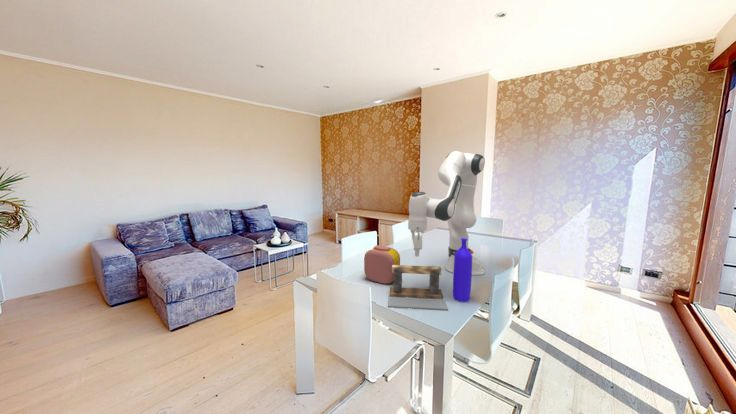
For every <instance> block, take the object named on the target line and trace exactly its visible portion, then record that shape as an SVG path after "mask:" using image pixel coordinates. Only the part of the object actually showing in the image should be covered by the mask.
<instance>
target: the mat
mask: <svg viewBox="0 0 736 414" xmlns="http://www.w3.org/2000/svg"><path fill="white" fill-rule="evenodd" d="M389 307H394V308H393V309H408V308H410V309H411V308H412V309H411V310H413V309H414V310H431V311H449V308H448V305H447V301H446V300H445V299H427V298H406V297H388V298H387V308H389Z"/></svg>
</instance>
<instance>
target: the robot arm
mask: <svg viewBox="0 0 736 414" xmlns="http://www.w3.org/2000/svg"><path fill="white" fill-rule="evenodd" d="M485 163H486V159H485V157H484V156H483V155H482V154H478V153H476V154H475V153H472V152H470V153H469V152H462V151H459V150H454V151H452V152H450V153H448V155H447V156H446V157H445V159H444V160H443V162H442V163H441V166H440V167H439V169H438V172H437V177H438V180H440V182H441V183H442V184H444V185H445V186H448V190H447V192H446V196H445V197H444V198H441V199H440V198H433V197H430V196H428V195H427V192H425V191H416V192H413V193H411V194H410V197H409V201H408V214H409V215H408V223H407V229H408V230H410V233H411V240H412V245H413V250H414V257H419V256H420V251H421V250H422V249H423V234H424V232H425V231H426V230H427V225H428V224H427V222H428V218H431V219H436V220H439V221H443V222H447V227H448V231H449V238H448V239H449V242H448V243H449V246H448V249H447V256H448V257H447V262H446V266H445V270H446V271H447V272H450V273H452V274H453V273H454V257H455V253H456V252H457V251H458V250H459V249H460V248H461V246H462V240H461V238H466V239H468V240H467V241H466V247H467V249H468V250H469V251H470V253H471V254H472V276H475V275H477V276H479V275H480V276H481V275H485V270H484V269H483V267H481V263H480V261H479V259H478V258H476V257H475V256H474V255H473V254H475V252H474V250H472V249H471V248H470V247H469V233H468V231H467V229H472V228H473V227H474V226H475V225H476V223H477V216H476V214H475V207H474V206H475V205H474V201H475V200H474V198H475V193H476V189H477V183H478V175H479V174H480V173H481V172H482V171H483V170H484V168H485Z"/></svg>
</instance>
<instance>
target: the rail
mask: <svg viewBox="0 0 736 414" xmlns="http://www.w3.org/2000/svg"><path fill="white" fill-rule="evenodd" d="M394 268H395V269H402V274H409V275H410V274H413V275H414V274H415V275H416V274H417V275H418V274H419V275H430V274H431V270H439V271H440V274H439V276H441V275H442V268H441V266H438V267H437V266H436V265H434V266H433V265H406V264H405V265H404V264H403V265H402V264H400V265H392V273H394Z"/></svg>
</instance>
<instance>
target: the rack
mask: <svg viewBox="0 0 736 414" xmlns="http://www.w3.org/2000/svg"><path fill="white" fill-rule="evenodd" d="M437 267H439V266H437ZM439 274H440V271H439V270H431V274H429V282H428V283H429V284H428V288H426V287H425V288H424V287H404V286H403V273H402V269H395V268H394V280H393V286H389V298H406V297H408V299H429V300H444V295H443V291H442V289H441V288H440V275H439Z"/></svg>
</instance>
